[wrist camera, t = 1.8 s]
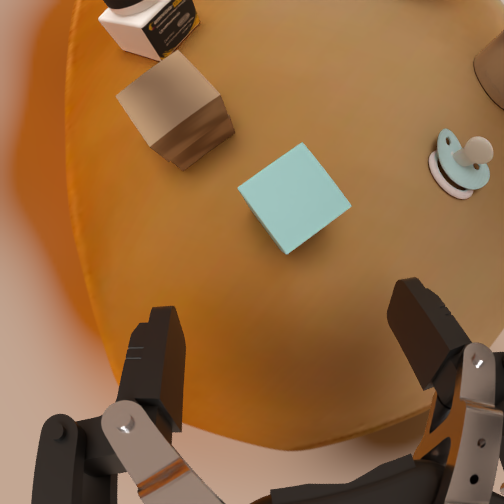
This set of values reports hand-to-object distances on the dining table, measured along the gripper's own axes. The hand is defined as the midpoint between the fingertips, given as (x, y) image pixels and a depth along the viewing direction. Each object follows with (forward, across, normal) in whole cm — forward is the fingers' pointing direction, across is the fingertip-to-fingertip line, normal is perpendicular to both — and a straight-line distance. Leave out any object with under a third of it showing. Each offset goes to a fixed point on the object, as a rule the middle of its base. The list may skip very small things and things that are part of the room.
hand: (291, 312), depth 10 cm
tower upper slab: (+18, +5, -5) cm, 20 cm away
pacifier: (+16, -21, 0) cm, 27 cm away
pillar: (+16, -3, +4) cm, 17 cm away
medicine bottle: (+30, +8, -15) cm, 34 cm away
